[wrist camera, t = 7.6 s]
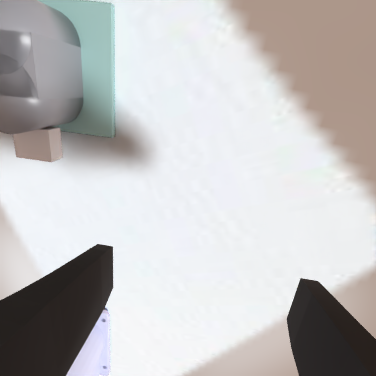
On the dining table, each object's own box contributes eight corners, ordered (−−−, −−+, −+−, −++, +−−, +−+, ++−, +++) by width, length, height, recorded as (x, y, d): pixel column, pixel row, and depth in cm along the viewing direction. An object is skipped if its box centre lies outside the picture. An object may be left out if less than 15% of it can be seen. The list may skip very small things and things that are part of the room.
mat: (114, 136, 18) (111, 137, 18) (12, 123, 19) (7, 123, 18) (114, 5, 15) (110, 3, 15) (-8, -6, 16) (-14, -9, 15)
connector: (86, 153, 19) (46, 171, 14) (35, 146, 19) (-18, 162, 15) (78, 10, 15) (24, -21, 11) (17, 4, 16) (-58, -27, 11)
